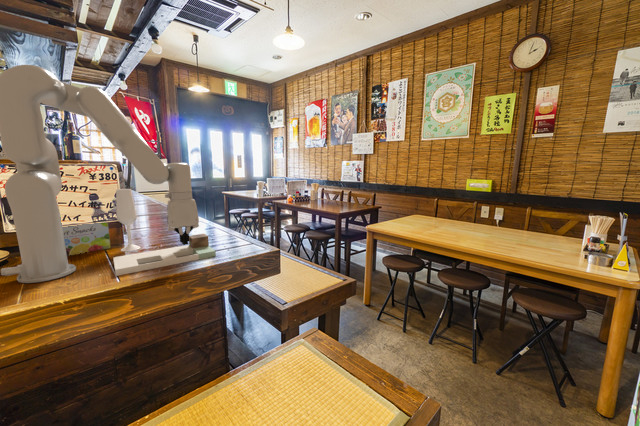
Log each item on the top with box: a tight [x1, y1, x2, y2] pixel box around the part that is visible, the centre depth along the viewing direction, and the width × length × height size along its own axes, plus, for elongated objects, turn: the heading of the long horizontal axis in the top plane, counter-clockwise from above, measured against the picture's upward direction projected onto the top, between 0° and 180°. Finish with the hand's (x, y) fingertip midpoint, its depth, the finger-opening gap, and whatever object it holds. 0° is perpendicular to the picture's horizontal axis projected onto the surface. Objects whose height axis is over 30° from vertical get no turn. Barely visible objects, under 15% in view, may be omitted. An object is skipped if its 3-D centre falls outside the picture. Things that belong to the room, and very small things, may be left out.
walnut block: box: [188, 233, 210, 249], centre depth 105 cm, size 6×5×4 cm
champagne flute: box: [115, 188, 142, 252], centre depth 105 cm, size 7×7×24 cm
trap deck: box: [112, 244, 217, 277], centre depth 96 cm, size 30×14×2 cm, turn 129°
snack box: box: [62, 223, 111, 257], centre depth 100 cm, size 21×6×15 cm, turn 143°
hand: (184, 243), depth 102 cm, fingers closed
